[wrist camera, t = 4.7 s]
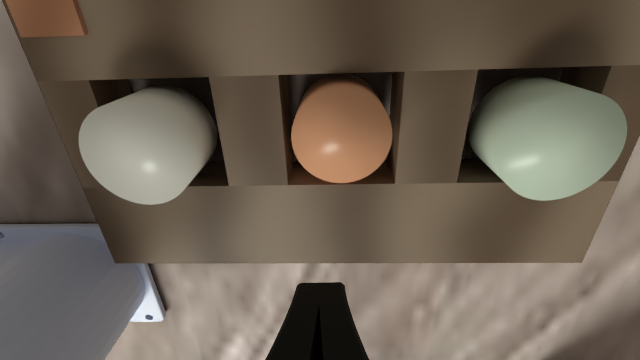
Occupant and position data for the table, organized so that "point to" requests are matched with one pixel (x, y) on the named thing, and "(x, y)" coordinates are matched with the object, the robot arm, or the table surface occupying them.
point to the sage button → (547, 136)
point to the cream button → (148, 143)
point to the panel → (275, 125)
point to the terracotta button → (341, 129)
